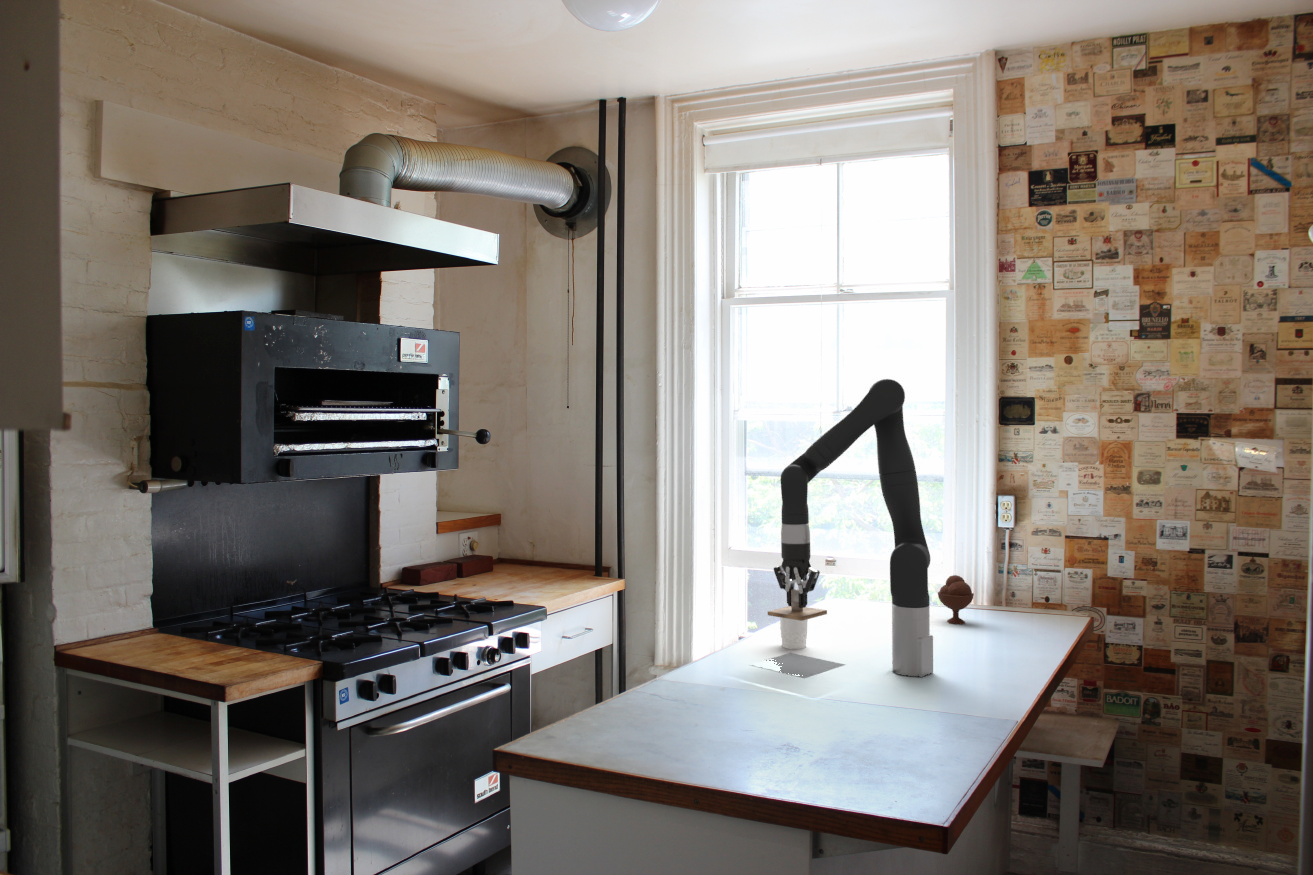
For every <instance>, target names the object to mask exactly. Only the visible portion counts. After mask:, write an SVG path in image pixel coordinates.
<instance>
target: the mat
mask: <svg viewBox="0 0 1313 875" xmlns="http://www.w3.org/2000/svg"><path fill="white" fill-rule="evenodd" d="M771 659H774V660H772V661H774V662H777V664H776V665H778V664H779V663H780V664H779V665H778V666H782V667H780V669H781V670H780V671H781V672H782V673H781V674H784V673H786V674H785V675H788V673H789V674H791V675H790V676H793V675H792V674H794V675H795V674H796V675H798V674H799V675H800V676H796V677H797V678H802V679H807V678H810V677H813V676H815V675H819V674H822V673H825V672H828V671H830V670H833V669H836V668H840V667H843V666H846V664H844V663H840V662H835V661H831V660H826V659H821V658H816V657H813V656H807V655H804V654H798V653H793V652H788V653H785V654H781V655H779V656H774V657H772V658H771ZM765 660H766V661H767V659H765ZM775 660H776V661H775ZM769 661H771V660H769ZM782 663H783V664H782ZM774 664H775V663H774ZM780 671H779V672H778V673H780ZM802 675H803V676H802Z"/></svg>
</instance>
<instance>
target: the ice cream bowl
mask: <svg viewBox="0 0 1313 875" xmlns="http://www.w3.org/2000/svg"><path fill="white" fill-rule="evenodd" d="M974 594H975V593H973V592H972V588H971V586H970V585H969V584H968V583H967V582H966V581H965V580H964V578H963V577H961V576H960V575H957V574H955V575H954V574H953V575H950V576H949V577H948V578H946V581H945V584H944V585H943V586H942V587H940V589H939V591H938V592H937V596H938V599H939V601H940V603H941V604H943V605H944V606H945V607H947V609H950V610H951V611H952V617H950V618H949V619H947V621H946V623H947V624H949V625H951V624H952V625H965V623H966V622H965V620H964V619H962V618H960V615H959V612H960V611H961V610H964V609H965V608H967V607H968V606H969V605H970V604H971V603H972V601H973V599H974Z"/></svg>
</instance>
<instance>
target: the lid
mask: <svg viewBox="0 0 1313 875" xmlns="http://www.w3.org/2000/svg"><path fill="white" fill-rule="evenodd" d="M799 594H800V593H799V588H794V589H791V606H788V605H787V606H785V607H780V608H776V609H772V610H768V611H767V616H771V617H776V618H780V617H781V618H788V619H794V620H800V621H803V620H807V619H808V620H810V619H813V618H817V617H821V616H825V615H828V610H826V609H820V608H814V607H809V606H808V607H807V606H806V607H804V608H800V607H799Z"/></svg>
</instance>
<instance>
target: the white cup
mask: <svg viewBox="0 0 1313 875" xmlns="http://www.w3.org/2000/svg"><path fill="white" fill-rule="evenodd" d="M779 619H780V623H779V624H780V637H781V646H782V648H785V649H790V650H800V649H805V648H807V640H808V639H807V636H808V620H809V619H807V620H803V621H800V620H794V619H788V618H781V617H779Z"/></svg>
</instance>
